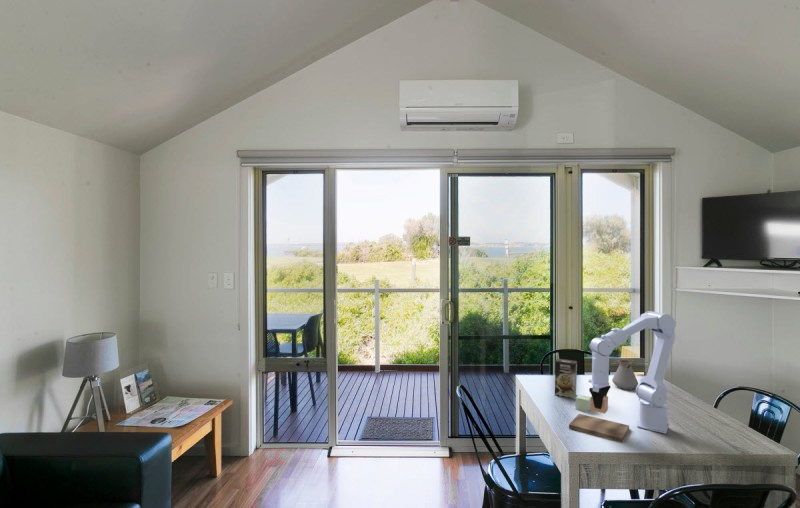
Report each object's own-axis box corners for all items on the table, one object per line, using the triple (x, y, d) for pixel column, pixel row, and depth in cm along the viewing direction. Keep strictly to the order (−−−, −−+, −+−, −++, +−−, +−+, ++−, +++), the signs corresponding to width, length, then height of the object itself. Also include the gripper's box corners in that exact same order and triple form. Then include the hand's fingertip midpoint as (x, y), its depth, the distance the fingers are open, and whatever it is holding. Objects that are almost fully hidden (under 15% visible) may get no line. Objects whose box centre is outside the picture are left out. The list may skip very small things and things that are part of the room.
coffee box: (554, 395, 193) (554, 360, 193) (556, 391, 199) (556, 357, 198) (575, 399, 189) (576, 363, 189) (576, 394, 194) (577, 360, 194)
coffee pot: (611, 382, 214) (611, 353, 214) (636, 385, 210) (636, 356, 210) (615, 395, 194) (615, 363, 194) (643, 399, 190) (643, 366, 190)
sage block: (591, 408, 177) (591, 397, 177) (588, 412, 173) (588, 400, 173) (578, 406, 180) (578, 394, 180) (575, 409, 176) (575, 397, 176)
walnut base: (629, 429, 156) (629, 425, 156) (622, 442, 145) (622, 438, 145) (578, 417, 167) (578, 413, 167) (568, 428, 156) (569, 424, 156)
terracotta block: (607, 409, 157) (608, 396, 157) (604, 413, 153) (605, 400, 153) (593, 406, 160) (593, 393, 160) (590, 410, 156) (590, 397, 156)
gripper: (593, 364, 165) (592, 398, 165) (584, 372, 153) (583, 408, 153) (613, 367, 160) (612, 402, 160) (604, 376, 149) (604, 413, 149)
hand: (599, 406), depth 157 cm, fingers closed on terracotta block, 5 cm apart
